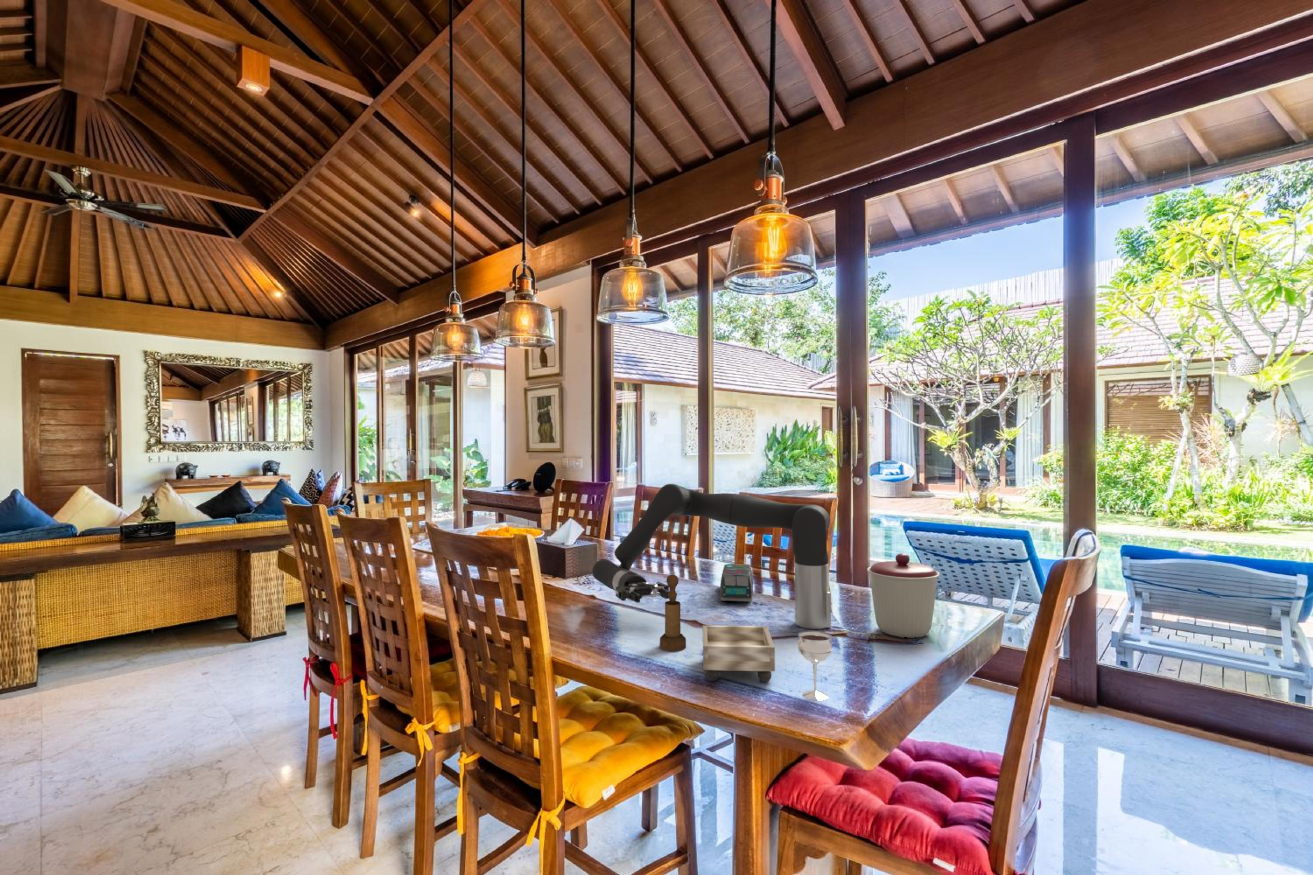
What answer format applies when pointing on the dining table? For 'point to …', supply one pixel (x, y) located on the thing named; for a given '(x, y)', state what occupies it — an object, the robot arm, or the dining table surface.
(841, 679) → the dining table surface
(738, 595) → the toy van
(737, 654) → the cart
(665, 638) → the mortar and pestle
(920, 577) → the canister
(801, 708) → the dining table surface
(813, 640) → the wineglass
